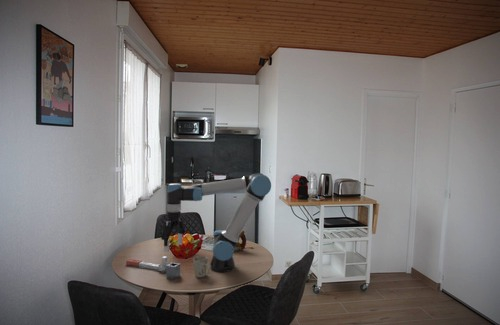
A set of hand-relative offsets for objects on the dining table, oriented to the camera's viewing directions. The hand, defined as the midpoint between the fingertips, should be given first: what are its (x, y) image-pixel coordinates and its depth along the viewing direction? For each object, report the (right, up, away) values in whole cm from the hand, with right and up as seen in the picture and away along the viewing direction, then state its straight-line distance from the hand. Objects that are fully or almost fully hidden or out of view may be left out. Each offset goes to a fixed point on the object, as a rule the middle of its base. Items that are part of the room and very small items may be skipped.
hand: (173, 248), depth 181 cm
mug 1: (+16, -17, +2) cm, 24 cm away
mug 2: (+33, -16, +51) cm, 62 cm away
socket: (0, -17, +1) cm, 17 cm away
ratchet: (-19, -16, +13) cm, 28 cm away
